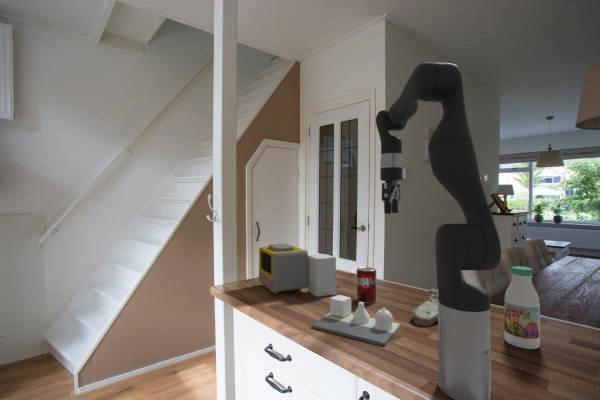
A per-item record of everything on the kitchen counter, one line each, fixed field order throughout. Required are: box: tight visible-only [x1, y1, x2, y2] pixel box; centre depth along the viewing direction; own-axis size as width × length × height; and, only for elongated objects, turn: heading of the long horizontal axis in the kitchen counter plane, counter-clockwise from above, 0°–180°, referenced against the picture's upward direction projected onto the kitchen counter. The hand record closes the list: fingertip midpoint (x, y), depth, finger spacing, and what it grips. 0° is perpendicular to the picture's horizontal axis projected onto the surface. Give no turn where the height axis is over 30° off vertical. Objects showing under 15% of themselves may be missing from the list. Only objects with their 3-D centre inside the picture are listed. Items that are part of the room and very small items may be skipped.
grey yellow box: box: [258, 243, 309, 296], centre depth 133 cm, size 20×16×18 cm
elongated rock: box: [410, 288, 438, 327], centre depth 108 cm, size 35×5×10 cm
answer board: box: [311, 312, 401, 347], centre depth 93 cm, size 22×15×1 cm
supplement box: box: [307, 253, 337, 298], centre depth 127 cm, size 9×9×15 cm
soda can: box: [356, 266, 377, 305], centre depth 117 cm, size 7×7×12 cm
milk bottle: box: [503, 265, 541, 350], centre depth 83 cm, size 8×8×20 cm
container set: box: [329, 294, 394, 330], centre depth 96 cm, size 20×5×6 cm, turn 50°
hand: (391, 213), depth 110 cm, fingers open, 8 cm apart
